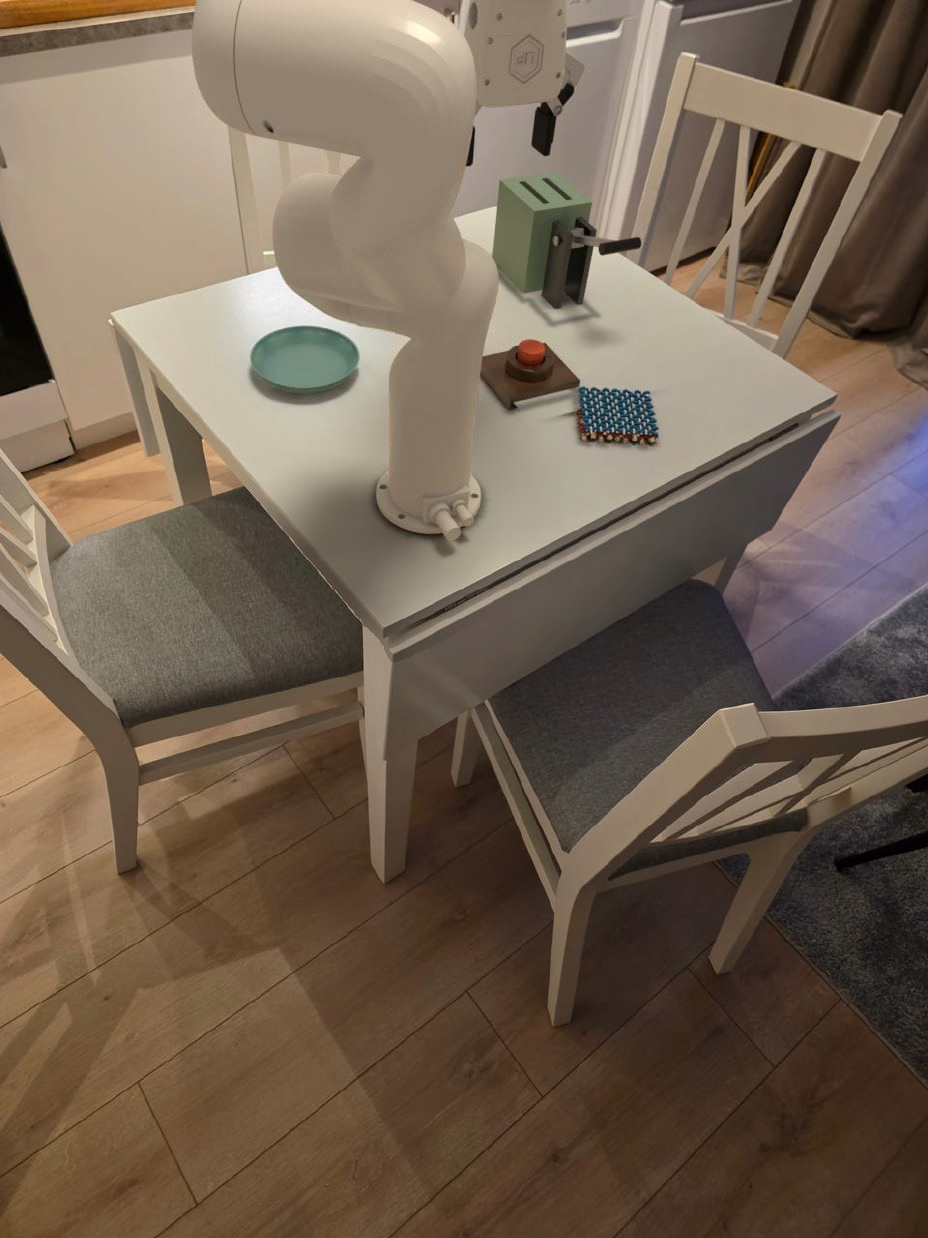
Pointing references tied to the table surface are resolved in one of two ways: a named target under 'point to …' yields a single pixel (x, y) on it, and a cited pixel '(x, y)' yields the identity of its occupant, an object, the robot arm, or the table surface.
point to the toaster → (532, 224)
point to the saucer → (305, 358)
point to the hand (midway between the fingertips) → (502, 156)
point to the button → (531, 352)
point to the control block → (525, 376)
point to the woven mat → (616, 415)
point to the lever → (603, 242)
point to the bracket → (567, 264)
